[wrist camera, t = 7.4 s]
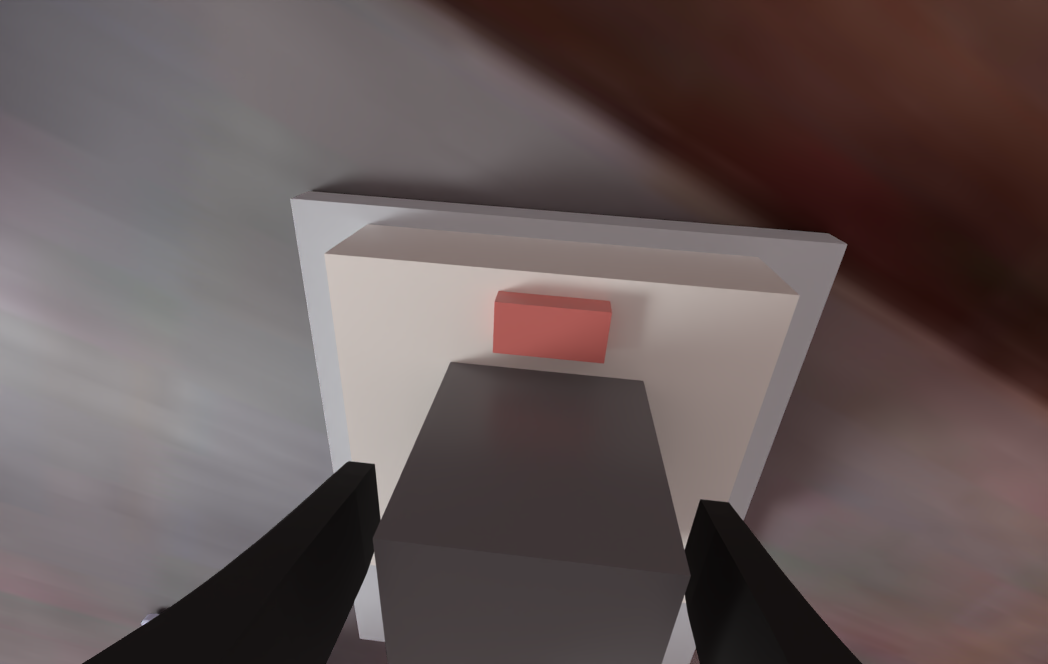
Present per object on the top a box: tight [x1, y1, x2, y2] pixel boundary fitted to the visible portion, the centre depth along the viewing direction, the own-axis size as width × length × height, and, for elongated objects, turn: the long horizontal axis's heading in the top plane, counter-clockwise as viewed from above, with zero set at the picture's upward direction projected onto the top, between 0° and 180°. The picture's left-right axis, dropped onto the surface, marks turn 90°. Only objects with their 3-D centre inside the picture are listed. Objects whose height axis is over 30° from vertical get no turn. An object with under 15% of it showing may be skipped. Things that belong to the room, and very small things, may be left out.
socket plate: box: [324, 224, 800, 603], centre depth 13 cm, size 10×10×3 cm
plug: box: [373, 362, 691, 664], centre depth 11 cm, size 4×7×6 cm, turn 177°
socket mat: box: [290, 191, 848, 664], centre depth 17 cm, size 19×14×1 cm
